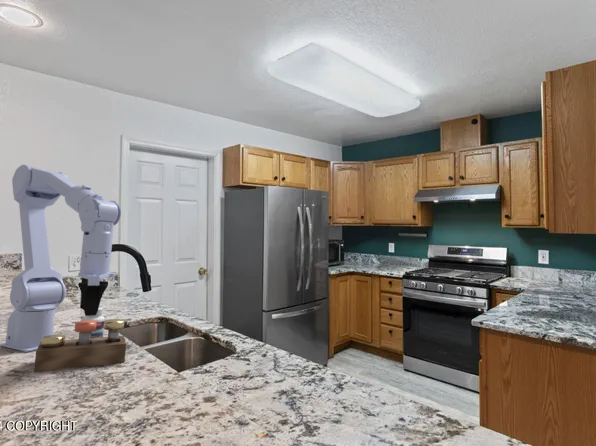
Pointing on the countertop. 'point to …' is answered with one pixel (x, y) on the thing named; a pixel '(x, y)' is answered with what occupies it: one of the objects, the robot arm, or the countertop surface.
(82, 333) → the red knob
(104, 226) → the robot arm
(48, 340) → the left brass button
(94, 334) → the pill bottle
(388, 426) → the countertop surface
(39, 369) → the block
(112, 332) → the right brass button
